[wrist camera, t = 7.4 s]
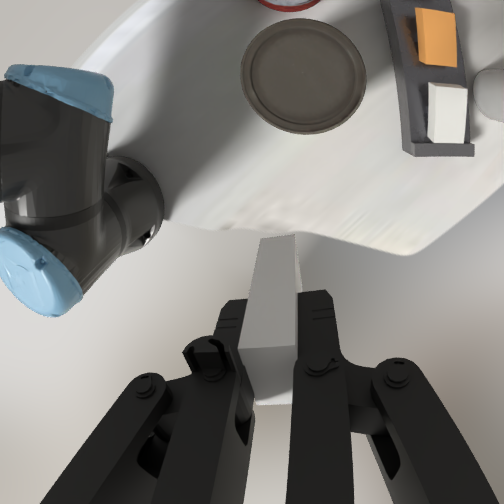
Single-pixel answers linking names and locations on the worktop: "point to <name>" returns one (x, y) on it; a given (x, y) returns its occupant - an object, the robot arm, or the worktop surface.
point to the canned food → (289, 4)
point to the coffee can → (303, 76)
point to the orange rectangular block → (436, 37)
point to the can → (490, 93)
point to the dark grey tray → (420, 78)
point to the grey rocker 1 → (447, 113)
